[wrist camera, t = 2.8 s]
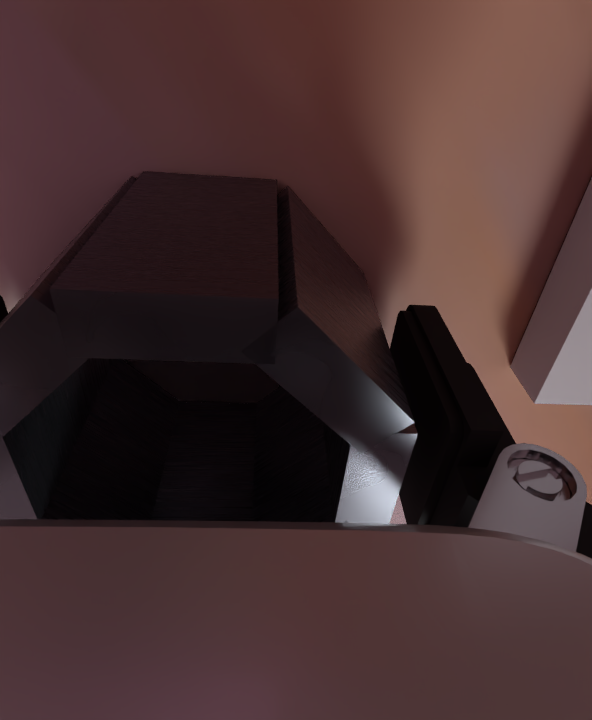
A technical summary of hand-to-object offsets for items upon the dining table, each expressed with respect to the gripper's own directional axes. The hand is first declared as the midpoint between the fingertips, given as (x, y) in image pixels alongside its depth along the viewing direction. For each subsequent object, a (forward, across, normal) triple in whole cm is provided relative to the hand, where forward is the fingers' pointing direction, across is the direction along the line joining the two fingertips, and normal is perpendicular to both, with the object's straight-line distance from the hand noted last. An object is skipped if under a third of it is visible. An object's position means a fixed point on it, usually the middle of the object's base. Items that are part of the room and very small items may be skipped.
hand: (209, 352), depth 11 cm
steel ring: (+1, 0, 0) cm, 1 cm away
